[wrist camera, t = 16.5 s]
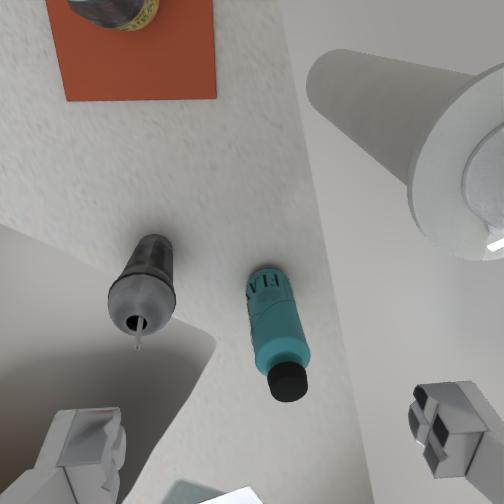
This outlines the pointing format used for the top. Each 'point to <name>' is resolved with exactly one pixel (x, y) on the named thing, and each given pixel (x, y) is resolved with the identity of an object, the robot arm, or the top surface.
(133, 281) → the beverage cup
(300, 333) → the beverage bottle
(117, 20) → the sauce bottle
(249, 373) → the top surface
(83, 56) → the condiment mat
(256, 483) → the top surface
